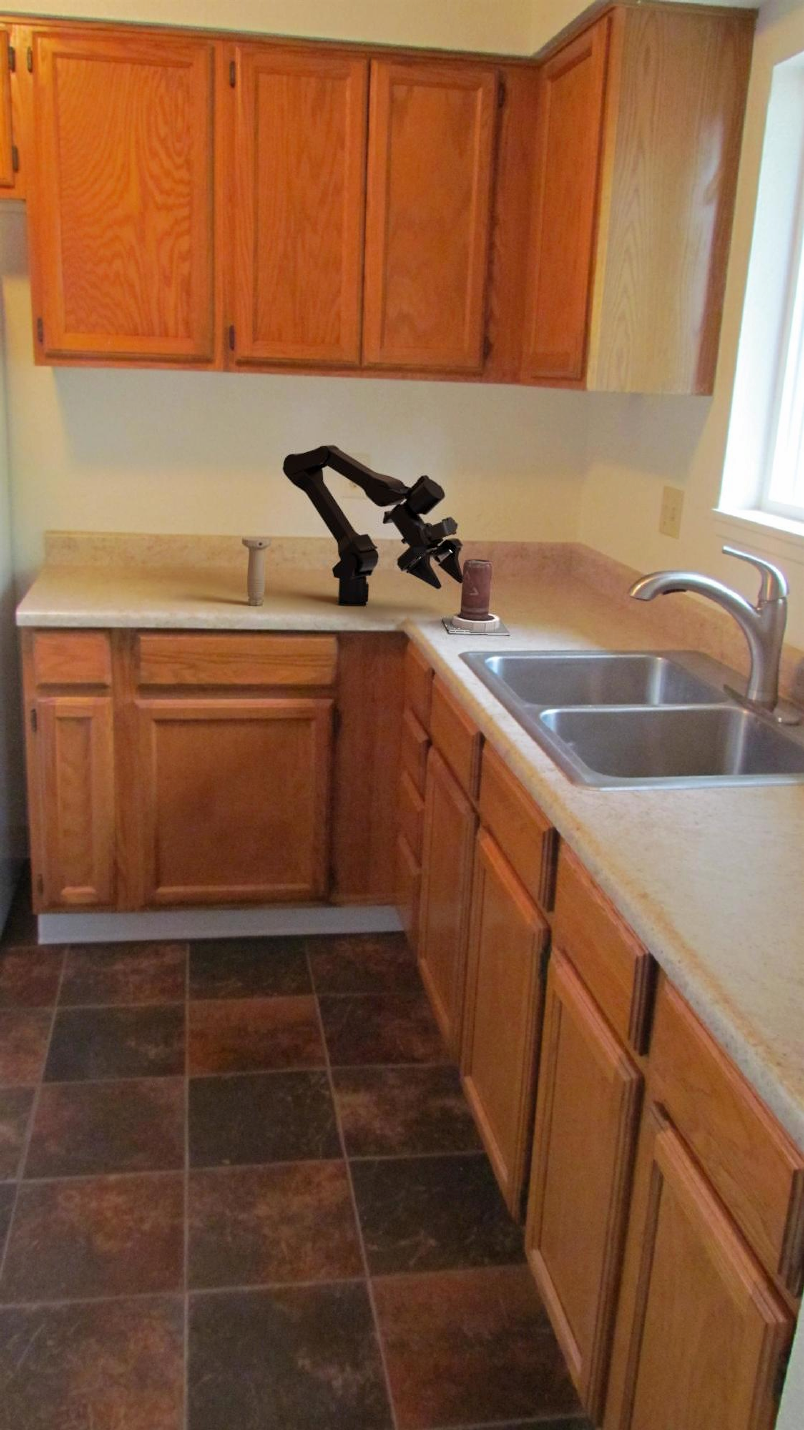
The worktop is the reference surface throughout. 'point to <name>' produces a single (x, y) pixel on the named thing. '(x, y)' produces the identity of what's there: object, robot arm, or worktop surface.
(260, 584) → the handle
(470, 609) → the can
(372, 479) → the robot arm
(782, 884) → the worktop surface
